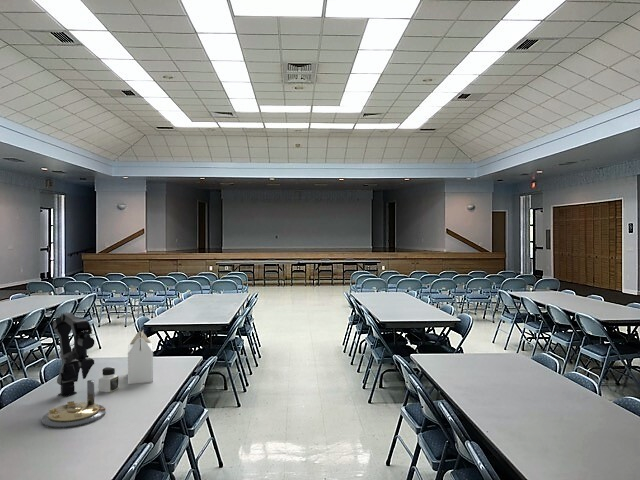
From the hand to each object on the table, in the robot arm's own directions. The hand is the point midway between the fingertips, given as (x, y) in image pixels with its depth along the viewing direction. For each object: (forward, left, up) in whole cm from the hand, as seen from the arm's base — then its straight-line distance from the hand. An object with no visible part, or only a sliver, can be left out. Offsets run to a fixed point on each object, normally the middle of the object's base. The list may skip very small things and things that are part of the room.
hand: (80, 376), depth 241 cm
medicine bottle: (-3, +20, -13) cm, 24 cm away
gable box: (-4, +44, -13) cm, 46 cm away
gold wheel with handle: (+14, -15, -11) cm, 23 cm away
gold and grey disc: (+14, -15, -13) cm, 24 cm away
